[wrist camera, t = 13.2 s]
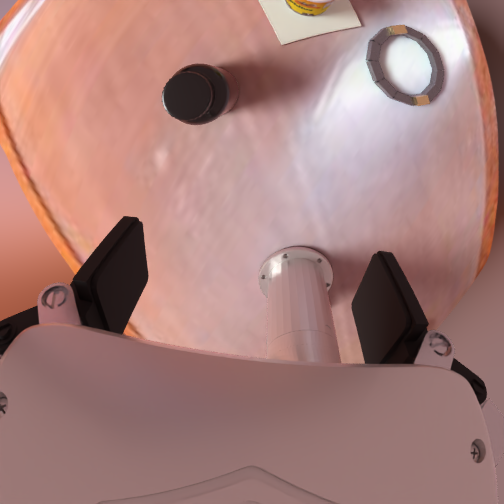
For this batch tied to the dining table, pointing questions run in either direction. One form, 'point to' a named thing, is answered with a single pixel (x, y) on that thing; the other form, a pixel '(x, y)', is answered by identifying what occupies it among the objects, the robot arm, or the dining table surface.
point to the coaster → (308, 20)
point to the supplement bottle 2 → (309, 6)
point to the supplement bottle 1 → (200, 94)
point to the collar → (384, 85)
